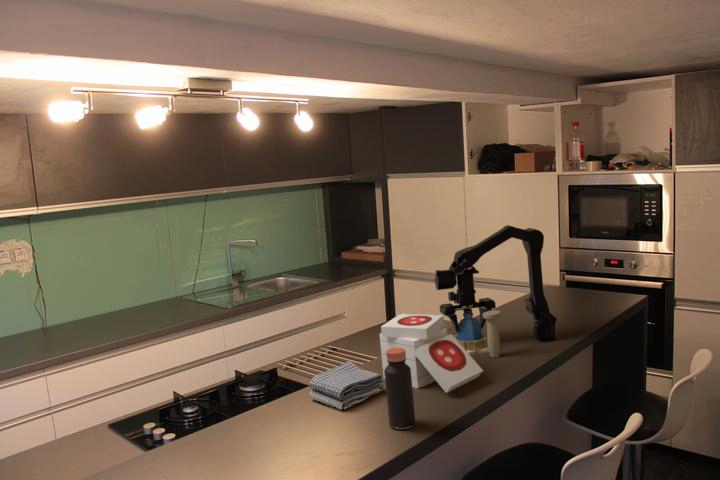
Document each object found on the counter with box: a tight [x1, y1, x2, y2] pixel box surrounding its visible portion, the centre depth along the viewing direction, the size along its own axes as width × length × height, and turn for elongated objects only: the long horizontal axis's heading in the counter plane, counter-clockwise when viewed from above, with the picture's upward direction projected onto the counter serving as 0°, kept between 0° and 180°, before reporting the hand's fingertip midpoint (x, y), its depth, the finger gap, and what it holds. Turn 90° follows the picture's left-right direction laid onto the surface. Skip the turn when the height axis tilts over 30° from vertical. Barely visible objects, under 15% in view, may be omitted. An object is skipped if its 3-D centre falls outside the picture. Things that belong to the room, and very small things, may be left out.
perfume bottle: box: [456, 308, 483, 341], centre depth 211 cm, size 6×6×12 cm
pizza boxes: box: [379, 313, 484, 394], centre depth 185 cm, size 19×30×18 cm, turn 42°
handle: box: [483, 309, 501, 359], centre depth 200 cm, size 5×6×15 cm
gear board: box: [453, 333, 489, 356], centre depth 212 cm, size 14×14×4 cm
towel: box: [308, 360, 384, 411], centre depth 179 cm, size 15×18×8 cm
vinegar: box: [384, 348, 416, 428], centre depth 156 cm, size 7×7×20 cm
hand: (469, 330), depth 212 cm, fingers closed on perfume bottle, 9 cm apart
